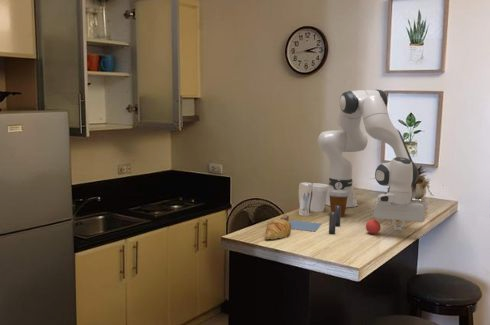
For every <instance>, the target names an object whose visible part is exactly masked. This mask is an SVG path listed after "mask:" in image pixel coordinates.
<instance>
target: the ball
mask: <svg viewBox="0 0 490 325" xmlns="http://www.w3.org/2000/svg"><path fill="white" fill-rule="evenodd" d="M365 229H366V231H367V232H368V233H369V234H370V235H375V234H379V232H380V230H381V229H382V228H381V224H380V222H379V221H378V220H376V219H369V220H368V221H367V222H366V224H365Z"/></svg>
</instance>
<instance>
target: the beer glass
mask: <svg viewBox="0 0 490 325" xmlns="http://www.w3.org/2000/svg"><path fill="white" fill-rule="evenodd" d="M313 183H314V182H313ZM313 183H312V182H305V181H304V182H299V184H298V185H299V186H298V202H299V210H298V215H300V216H304V217H305V216H306V217H307V216H308V217H309V216H312V211H311V203H312V198H313Z"/></svg>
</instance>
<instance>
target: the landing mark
mask: <svg viewBox="0 0 490 325" xmlns="http://www.w3.org/2000/svg"><path fill="white" fill-rule="evenodd" d="M288 222H289V223H290V224H291V230H295V229H296V230H297V231H303V230H305V231H306V232H312V231H313V233H314V232H316V231H317V230H318V229H319V228H320V227H321V225H322V223H319V222H310V221H301V220H300V221H299V220H290V221H288ZM305 231H304V232H305Z"/></svg>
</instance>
